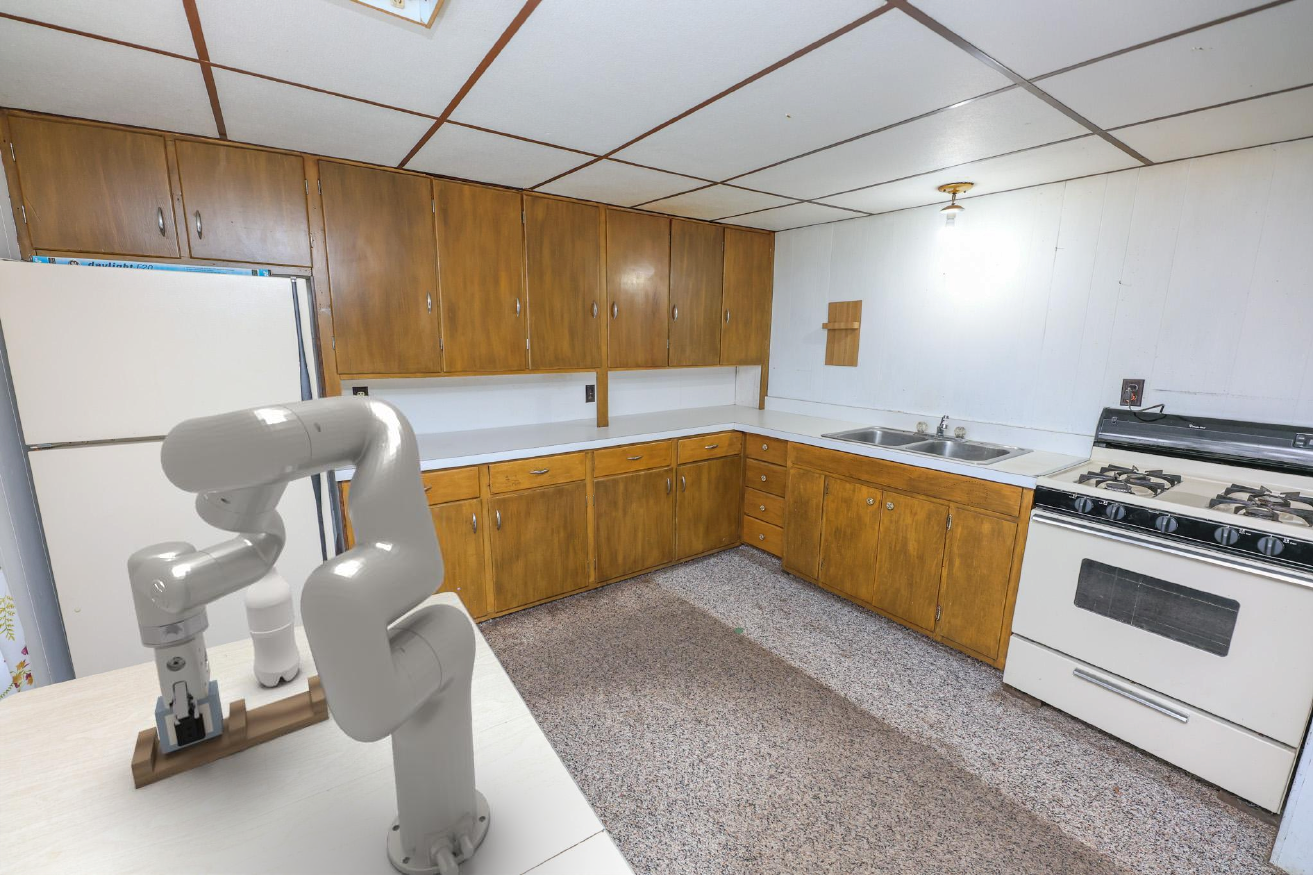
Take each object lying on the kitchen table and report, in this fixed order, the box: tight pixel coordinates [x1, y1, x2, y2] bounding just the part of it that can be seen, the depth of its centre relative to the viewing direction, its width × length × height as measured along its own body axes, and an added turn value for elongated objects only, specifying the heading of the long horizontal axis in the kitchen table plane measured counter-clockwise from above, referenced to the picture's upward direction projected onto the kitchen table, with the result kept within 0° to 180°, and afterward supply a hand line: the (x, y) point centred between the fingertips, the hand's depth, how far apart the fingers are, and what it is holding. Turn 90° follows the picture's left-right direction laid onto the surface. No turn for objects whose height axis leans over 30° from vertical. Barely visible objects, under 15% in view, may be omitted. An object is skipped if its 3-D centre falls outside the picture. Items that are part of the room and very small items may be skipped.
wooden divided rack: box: [130, 674, 330, 789], centre depth 87 cm, size 8×24×4 cm, turn 128°
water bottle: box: [244, 562, 301, 687], centre depth 99 cm, size 7×7×25 cm
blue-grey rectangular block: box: [154, 679, 224, 754], centre depth 82 cm, size 4×7×7 cm, turn 128°
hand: (193, 730), depth 83 cm, fingers closed on blue-grey rectangular block, 4 cm apart
